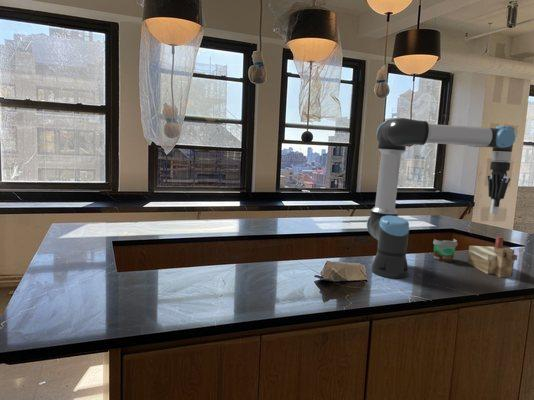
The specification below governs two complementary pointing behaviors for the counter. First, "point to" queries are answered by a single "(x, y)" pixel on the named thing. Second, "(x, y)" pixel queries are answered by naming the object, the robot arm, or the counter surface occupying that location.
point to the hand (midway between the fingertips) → (493, 213)
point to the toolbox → (493, 263)
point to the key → (507, 254)
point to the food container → (444, 250)
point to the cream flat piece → (484, 252)
